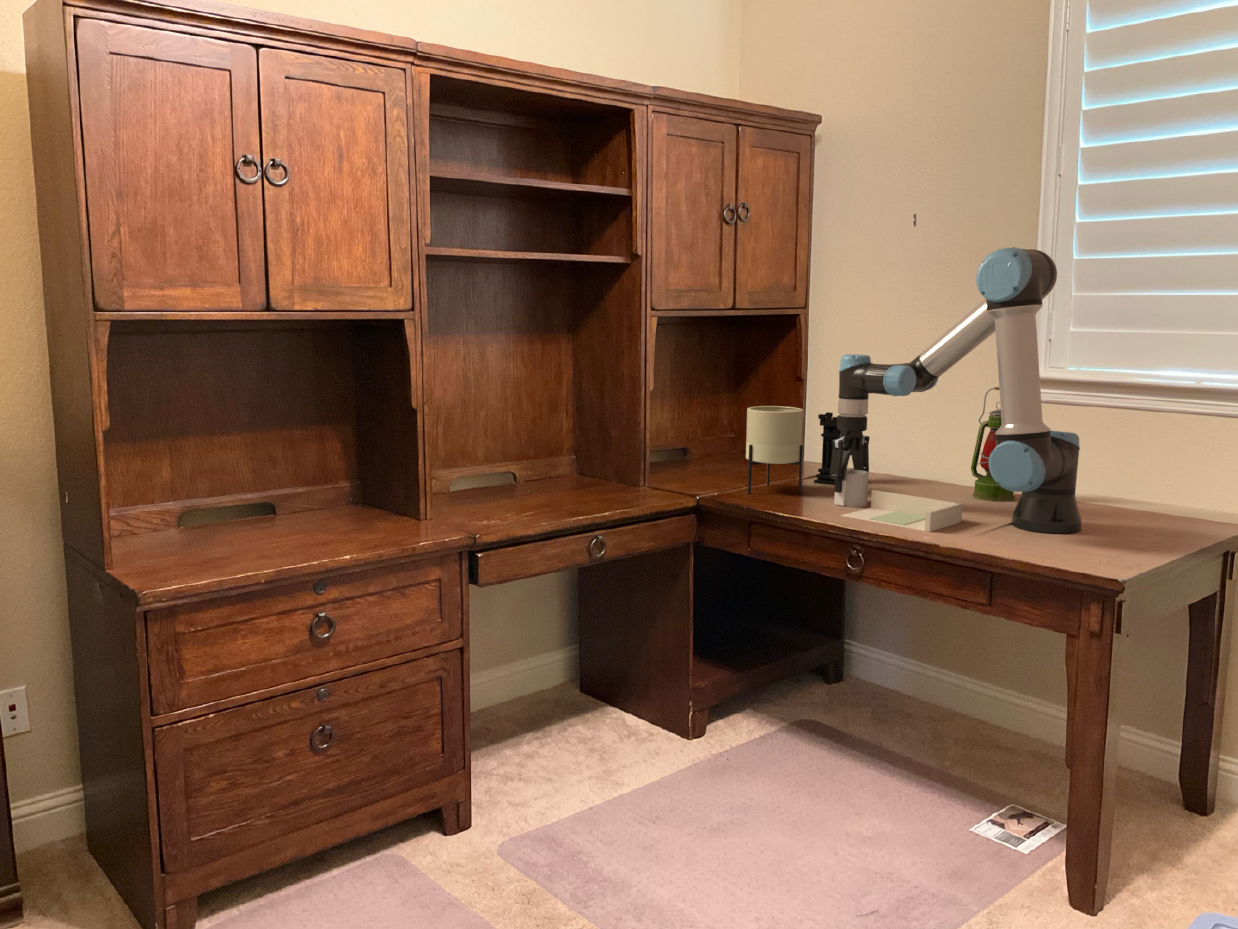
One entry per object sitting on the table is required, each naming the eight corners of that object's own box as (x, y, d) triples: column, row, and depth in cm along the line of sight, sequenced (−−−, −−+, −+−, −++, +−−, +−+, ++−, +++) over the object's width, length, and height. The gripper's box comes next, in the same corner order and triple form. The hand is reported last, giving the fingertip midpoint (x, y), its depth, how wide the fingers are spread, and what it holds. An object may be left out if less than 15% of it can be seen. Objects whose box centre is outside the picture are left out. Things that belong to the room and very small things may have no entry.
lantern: (1027, 498, 276) (1035, 387, 271) (1010, 504, 268) (1018, 390, 264) (977, 491, 286) (984, 384, 281) (960, 496, 278) (966, 386, 273)
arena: (961, 524, 244) (962, 503, 243) (929, 533, 234) (930, 512, 233) (873, 508, 261) (874, 489, 260) (840, 517, 251) (840, 497, 250)
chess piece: (849, 481, 300) (853, 413, 296) (840, 485, 293) (843, 416, 290) (824, 478, 304) (826, 412, 301) (813, 482, 297) (816, 414, 294)
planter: (791, 498, 273) (794, 413, 270) (736, 492, 281) (738, 409, 277) (810, 489, 286) (813, 408, 283) (757, 484, 294) (759, 404, 290)
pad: (929, 518, 248) (929, 516, 248) (903, 525, 240) (903, 524, 240) (896, 512, 255) (896, 511, 254) (870, 519, 246) (870, 518, 246)
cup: (852, 509, 260) (854, 475, 258) (825, 503, 268) (826, 469, 266) (872, 507, 263) (874, 473, 262) (845, 500, 272) (846, 467, 270)
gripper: (861, 411, 271) (857, 495, 275) (817, 416, 257) (813, 505, 261) (886, 413, 266) (881, 499, 270) (842, 419, 252) (838, 510, 256)
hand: (848, 502), depth 265 cm, fingers closed on cup, 7 cm apart
